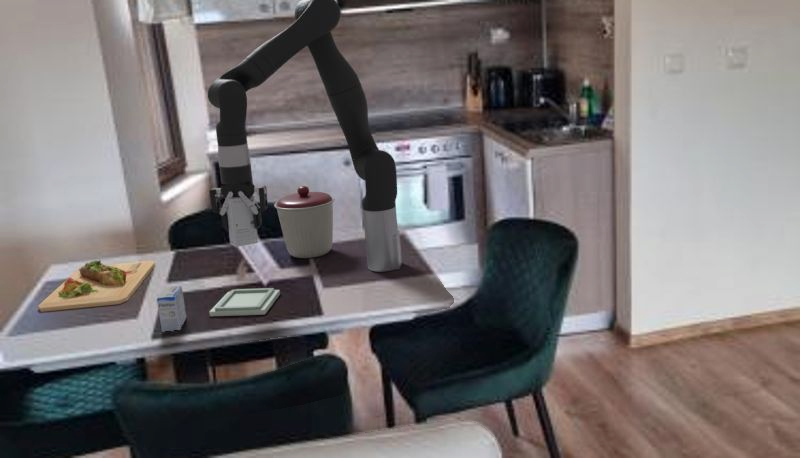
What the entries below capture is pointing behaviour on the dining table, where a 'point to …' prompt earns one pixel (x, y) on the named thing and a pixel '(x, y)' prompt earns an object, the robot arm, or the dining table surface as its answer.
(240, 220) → the skincare box
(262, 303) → the light green square tray
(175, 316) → the medicine box
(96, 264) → the cutting board
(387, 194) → the robot arm
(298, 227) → the canister
